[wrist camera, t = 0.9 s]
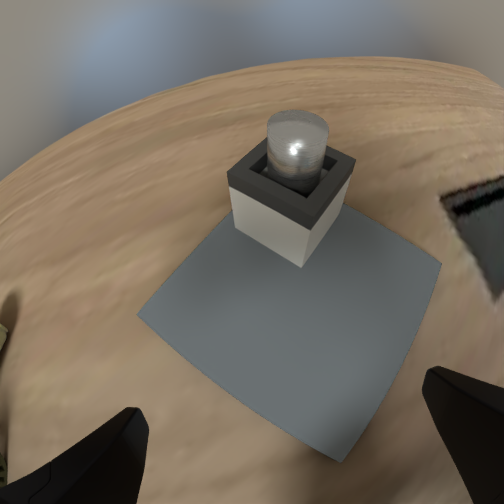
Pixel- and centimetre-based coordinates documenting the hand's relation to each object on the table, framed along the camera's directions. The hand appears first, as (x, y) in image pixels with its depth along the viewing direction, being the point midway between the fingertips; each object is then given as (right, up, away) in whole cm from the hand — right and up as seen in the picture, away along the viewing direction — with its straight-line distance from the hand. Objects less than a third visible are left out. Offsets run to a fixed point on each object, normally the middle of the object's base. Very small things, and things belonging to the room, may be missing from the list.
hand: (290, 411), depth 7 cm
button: (+2, +10, +15) cm, 18 cm away
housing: (+2, +7, +20) cm, 21 cm away
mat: (+3, +1, +16) cm, 16 cm away
